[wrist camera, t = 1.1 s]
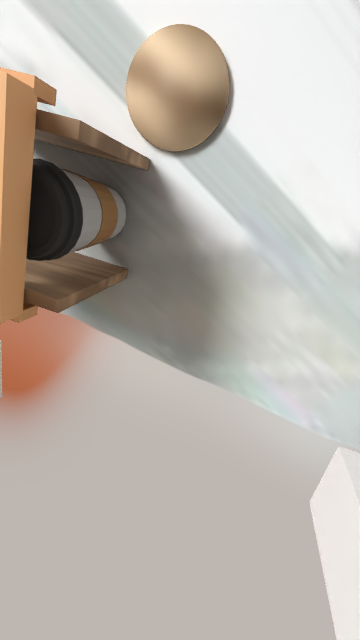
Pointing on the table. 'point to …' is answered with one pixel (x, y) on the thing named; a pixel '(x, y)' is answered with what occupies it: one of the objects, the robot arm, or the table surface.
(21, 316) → the orange notched bar
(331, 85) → the table surface
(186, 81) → the coaster
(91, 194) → the coffee cup
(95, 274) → the cradle
